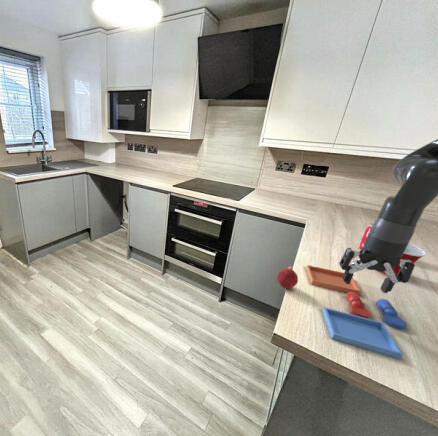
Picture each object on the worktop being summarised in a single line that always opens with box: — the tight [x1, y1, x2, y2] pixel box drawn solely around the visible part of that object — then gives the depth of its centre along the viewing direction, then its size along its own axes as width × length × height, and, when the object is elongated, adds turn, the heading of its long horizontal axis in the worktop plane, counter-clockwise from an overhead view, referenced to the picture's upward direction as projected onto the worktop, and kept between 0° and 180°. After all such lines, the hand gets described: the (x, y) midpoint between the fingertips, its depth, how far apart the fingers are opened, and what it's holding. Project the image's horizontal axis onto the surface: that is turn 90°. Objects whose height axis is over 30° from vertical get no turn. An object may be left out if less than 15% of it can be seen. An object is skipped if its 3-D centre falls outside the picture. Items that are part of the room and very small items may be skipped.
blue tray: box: [322, 306, 404, 360], centre depth 61 cm, size 13×10×2 cm
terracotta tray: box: [305, 264, 362, 297], centre depth 81 cm, size 13×10×2 cm
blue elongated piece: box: [376, 298, 408, 331], centre depth 66 cm, size 10×4×3 cm, turn 156°
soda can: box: [357, 223, 373, 251], centre depth 100 cm, size 7×7×12 cm
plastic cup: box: [381, 242, 427, 275], centre depth 84 cm, size 11×11×12 cm
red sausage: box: [345, 292, 372, 319], centre depth 69 cm, size 10×4×3 cm, turn 156°
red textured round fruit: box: [276, 266, 299, 289], centre depth 76 cm, size 6×6×8 cm
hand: (364, 286), depth 67 cm, fingers open, 8 cm apart
